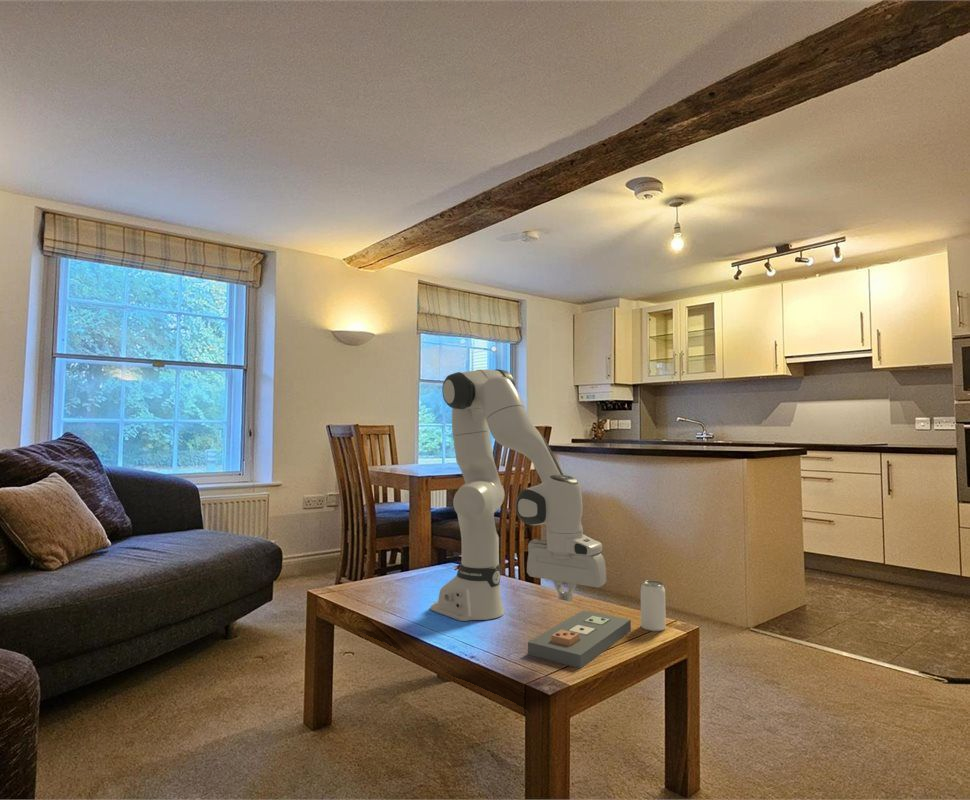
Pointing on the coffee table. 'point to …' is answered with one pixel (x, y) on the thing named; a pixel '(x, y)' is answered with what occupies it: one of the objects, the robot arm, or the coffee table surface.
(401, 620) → the coffee table surface
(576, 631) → the one dot button
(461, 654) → the coffee table surface
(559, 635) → the three dot button
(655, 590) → the can
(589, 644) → the button board
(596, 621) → the two dot button
